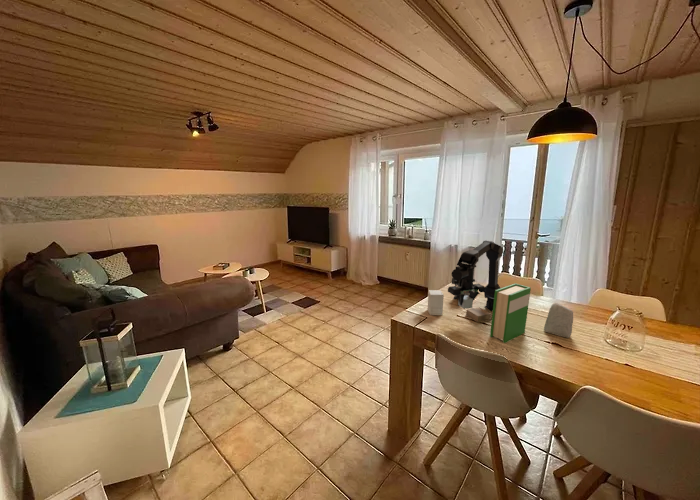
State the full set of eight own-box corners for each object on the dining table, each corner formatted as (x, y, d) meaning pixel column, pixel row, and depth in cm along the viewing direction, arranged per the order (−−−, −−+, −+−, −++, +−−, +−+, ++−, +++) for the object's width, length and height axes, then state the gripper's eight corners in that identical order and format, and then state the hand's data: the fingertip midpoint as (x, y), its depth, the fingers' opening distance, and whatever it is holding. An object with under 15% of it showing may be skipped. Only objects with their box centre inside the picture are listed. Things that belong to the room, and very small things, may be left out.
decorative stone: (572, 336, 138) (577, 307, 135) (568, 340, 134) (573, 311, 131) (546, 327, 146) (550, 300, 143) (542, 331, 142) (546, 303, 139)
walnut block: (478, 313, 164) (479, 307, 163) (490, 320, 155) (491, 313, 154) (465, 315, 161) (466, 309, 160) (477, 323, 153) (477, 316, 152)
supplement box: (439, 310, 168) (441, 290, 165) (442, 315, 161) (444, 294, 158) (427, 309, 169) (428, 289, 166) (429, 315, 162) (430, 294, 159)
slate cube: (466, 304, 152) (467, 295, 151) (472, 307, 148) (473, 298, 146) (458, 305, 151) (458, 296, 150) (463, 308, 146) (464, 299, 145)
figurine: (474, 299, 183) (476, 277, 180) (464, 303, 177) (466, 281, 173) (462, 295, 191) (463, 273, 187) (451, 299, 184) (453, 277, 181)
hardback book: (504, 343, 132) (510, 295, 127) (489, 336, 138) (494, 290, 133) (524, 332, 141) (530, 287, 136) (509, 326, 148) (515, 283, 142)
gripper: (473, 270, 155) (470, 297, 159) (442, 273, 151) (441, 300, 155) (487, 276, 145) (484, 305, 148) (455, 279, 141) (452, 308, 144)
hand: (465, 304), depth 149 cm, fingers closed on slate cube, 5 cm apart
